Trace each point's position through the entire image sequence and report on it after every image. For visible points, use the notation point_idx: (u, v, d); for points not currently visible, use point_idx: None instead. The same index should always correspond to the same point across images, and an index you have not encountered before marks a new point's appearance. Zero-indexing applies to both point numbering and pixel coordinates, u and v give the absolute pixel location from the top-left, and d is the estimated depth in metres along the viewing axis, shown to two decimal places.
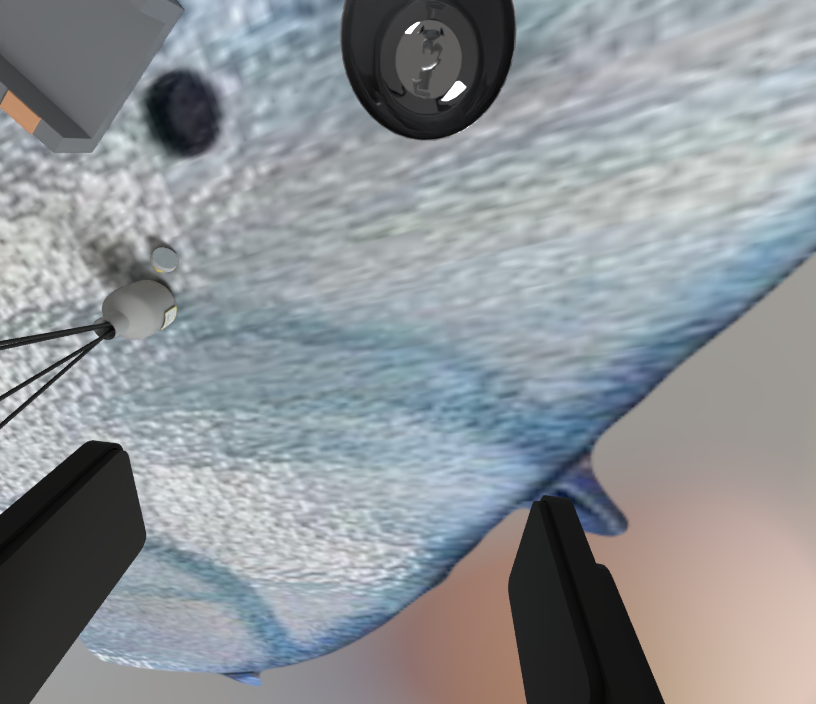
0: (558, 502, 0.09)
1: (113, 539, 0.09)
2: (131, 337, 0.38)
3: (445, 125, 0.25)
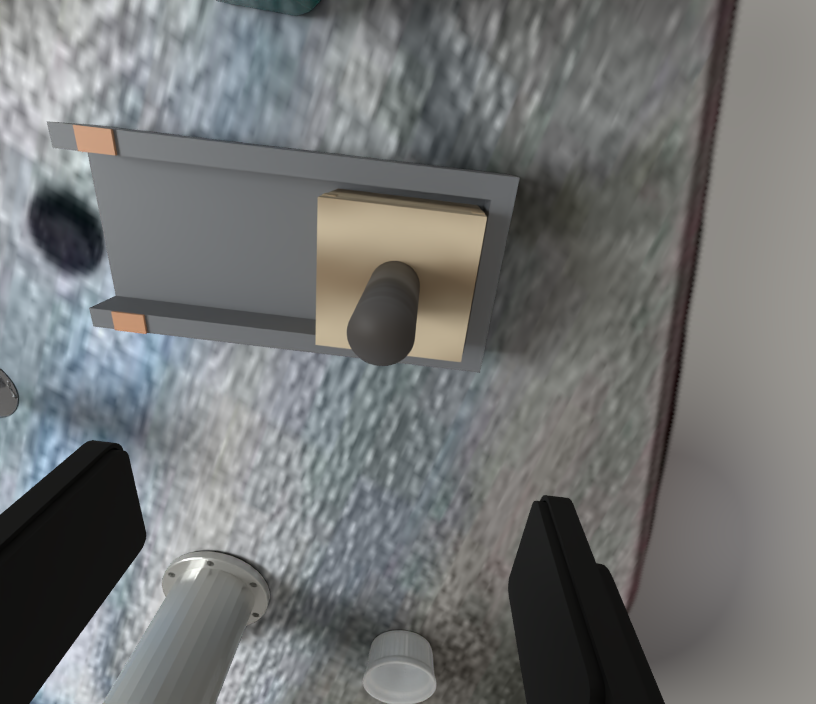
0: (558, 502, 0.09)
1: (113, 539, 0.09)
2: None
3: None
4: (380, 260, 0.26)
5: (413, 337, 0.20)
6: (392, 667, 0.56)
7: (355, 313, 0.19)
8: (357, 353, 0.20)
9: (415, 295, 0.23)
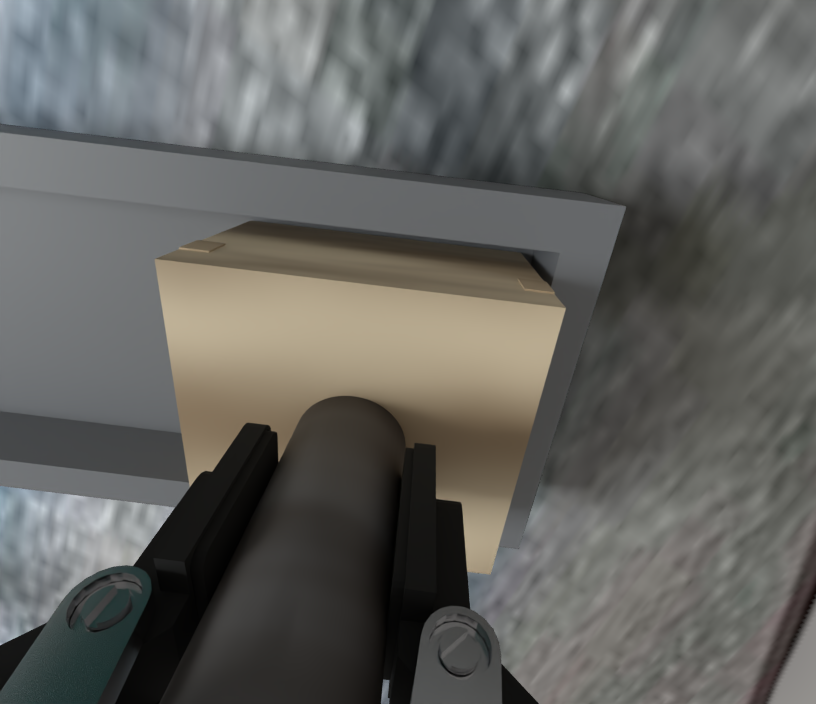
0: (423, 447, 0.10)
1: None
2: None
3: None
4: (316, 395, 0.12)
5: None
6: None
7: None
8: None
9: (386, 542, 0.08)
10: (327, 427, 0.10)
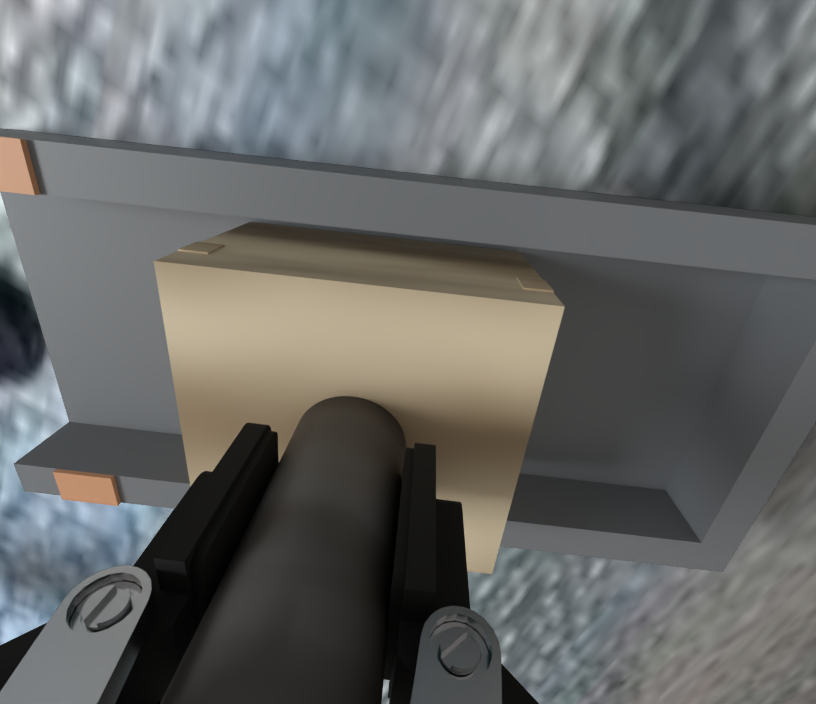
0: (423, 447, 0.10)
1: None
2: None
3: None
4: (315, 395, 0.12)
5: None
6: None
7: None
8: None
9: (386, 542, 0.08)
10: (327, 427, 0.10)
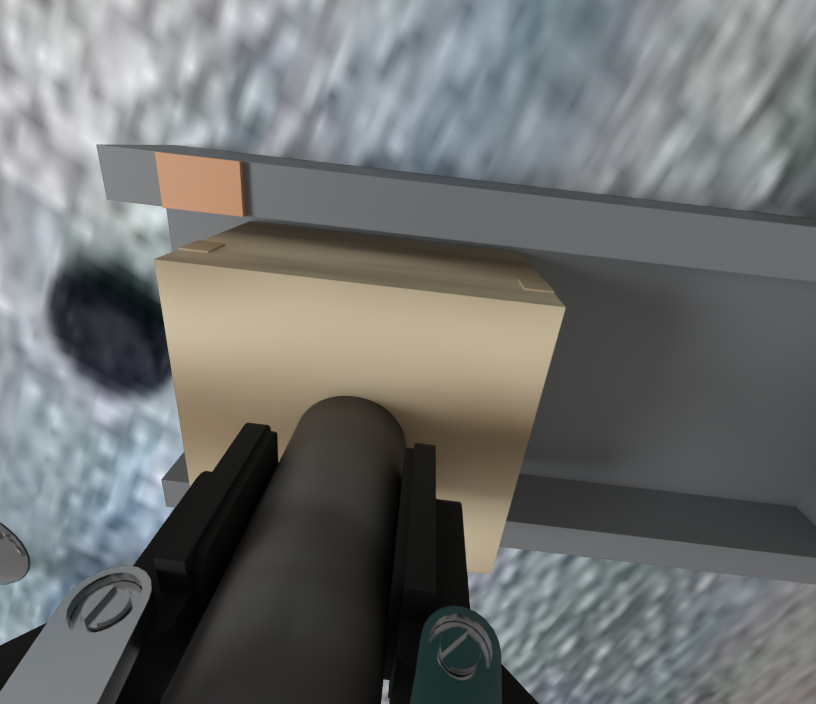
0: (422, 447, 0.10)
1: None
2: None
3: None
4: (315, 395, 0.12)
5: None
6: None
7: None
8: None
9: (386, 542, 0.08)
10: (327, 427, 0.10)
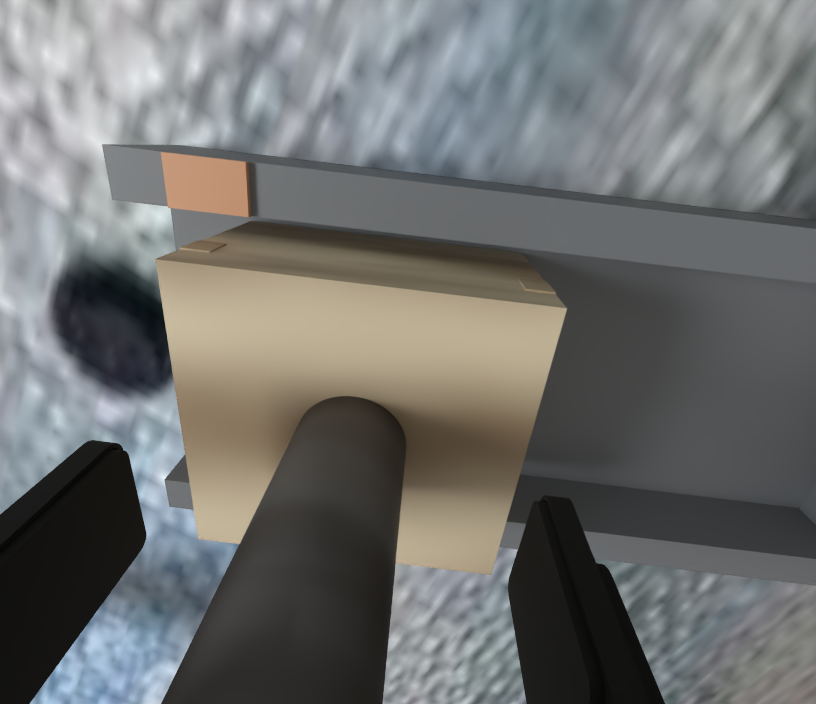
0: (558, 502, 0.09)
1: (113, 539, 0.09)
2: None
3: None
4: (316, 395, 0.12)
5: None
6: None
7: None
8: None
9: (387, 543, 0.08)
10: (328, 427, 0.10)
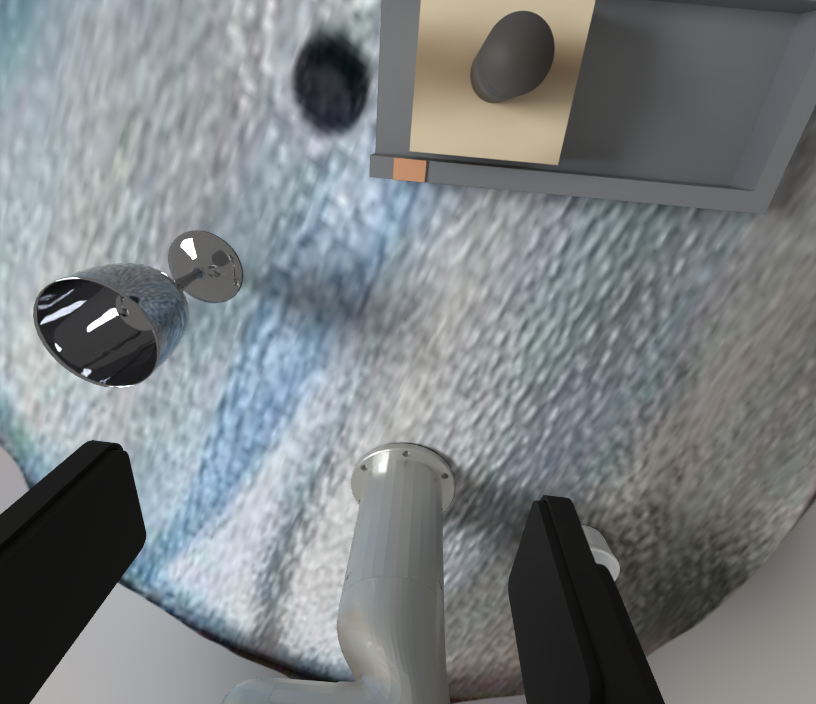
0: (558, 502, 0.09)
1: (113, 539, 0.09)
2: None
3: (93, 288, 0.31)
4: (483, 42, 0.26)
5: (552, 55, 0.19)
6: None
7: (494, 27, 0.19)
8: (492, 80, 0.20)
9: None
10: None
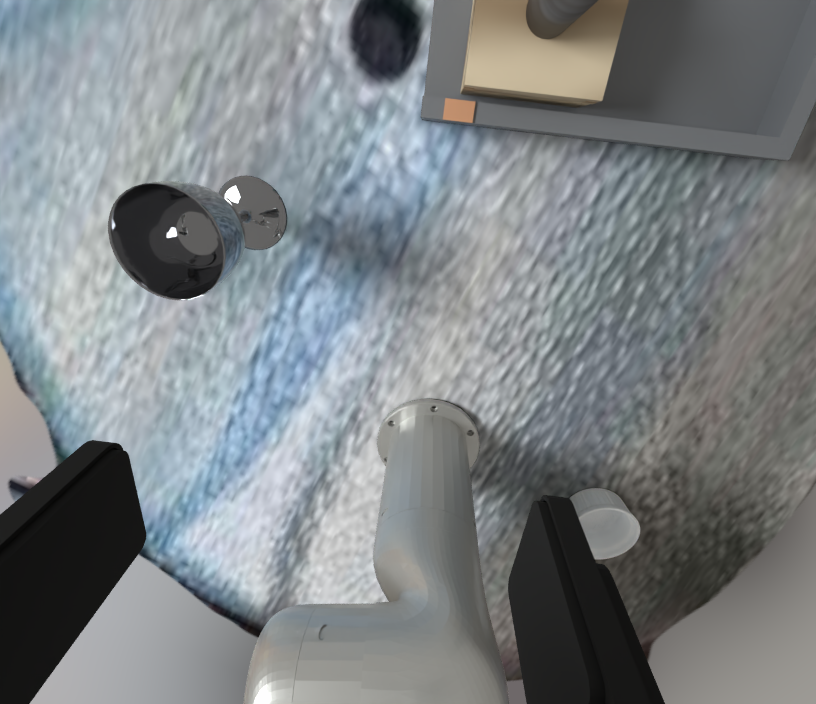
0: (558, 502, 0.09)
1: (113, 539, 0.09)
2: None
3: (158, 210, 0.33)
4: None
5: None
6: None
7: None
8: None
9: None
10: None
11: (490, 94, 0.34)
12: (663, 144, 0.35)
